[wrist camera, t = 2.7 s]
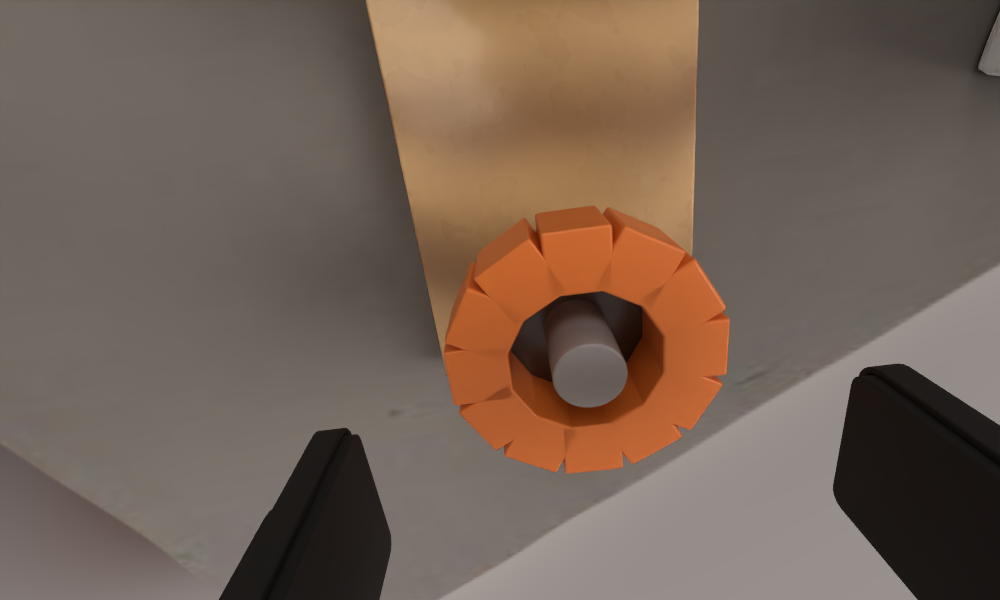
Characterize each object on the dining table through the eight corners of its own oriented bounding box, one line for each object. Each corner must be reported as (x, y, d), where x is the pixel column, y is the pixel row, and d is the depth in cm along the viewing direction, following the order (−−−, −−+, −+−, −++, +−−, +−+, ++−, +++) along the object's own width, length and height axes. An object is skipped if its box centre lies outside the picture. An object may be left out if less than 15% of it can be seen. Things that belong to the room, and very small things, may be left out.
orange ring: (702, 189, 12) (738, 207, 10) (695, 413, 15) (722, 458, 13) (432, 226, 12) (420, 249, 11) (474, 436, 15) (470, 484, 13)
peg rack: (320, -262, 13) (41, -807, 5) (687, -335, 12) (1009, -1080, 5) (450, 359, 21) (418, 519, 13) (677, 332, 20) (788, 483, 12)
